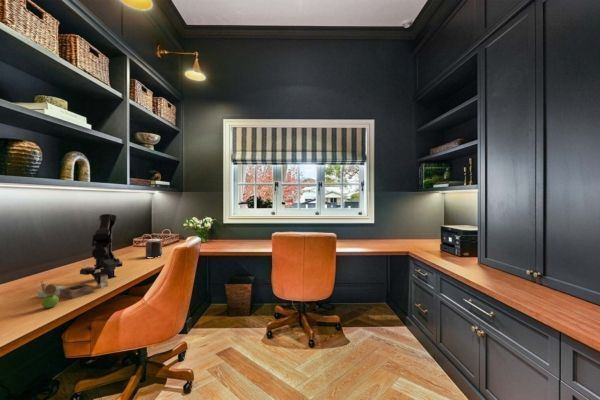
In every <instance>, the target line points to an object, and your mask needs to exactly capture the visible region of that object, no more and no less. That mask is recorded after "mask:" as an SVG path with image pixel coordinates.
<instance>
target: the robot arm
mask: <svg viewBox="0 0 600 400" xmlns="http://www.w3.org/2000/svg"><path fill="white" fill-rule="evenodd" d="M98 219H99V220H98V222H99V228H98V229H97V230H95V232H94V234H93V235H92V239H91V240H92V242H91V247H95V248H94V249H93V250H92V252H91V255H92V257H93V260H95V264H93V266H94V267H92V266H87V267H82V268H81V269H80V270H79V275H83V276H84V275H85V276H89V275H91V276H92V277H93V278H94V280H95V282H96V285H97V284H100V275H102V274H107V275H108V280H109V279H111V278H116V277H117V275H115V270H116V268H121V267H123V262H122V261H120V258H116V257H115V254H114V253H113V250H112V248H113V247H112V246H113V229H114V228H115V226H116V224H117V223H116V222H118V215H115V214H111V213H102V214H101V215H99V218H98Z"/></svg>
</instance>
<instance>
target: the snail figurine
mask: <svg viewBox="0 0 600 400" xmlns="http://www.w3.org/2000/svg"><path fill="white" fill-rule="evenodd" d="M56 286H57V285H56V284H53V283H50V284H47V285H46V283H45V282H44V280H41V281H40V287H41V290H42V291H43V293H44V294H45V295H47V296H46V297H43V299H42V300H41V306H42V307H43V308H46V309H51V308H54V307H56V306H57V305H58V303H59V301H60V297H59V295H57V296H56V295H55V294H56V293H54V292H55V291H56V289H57V288H56Z"/></svg>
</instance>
